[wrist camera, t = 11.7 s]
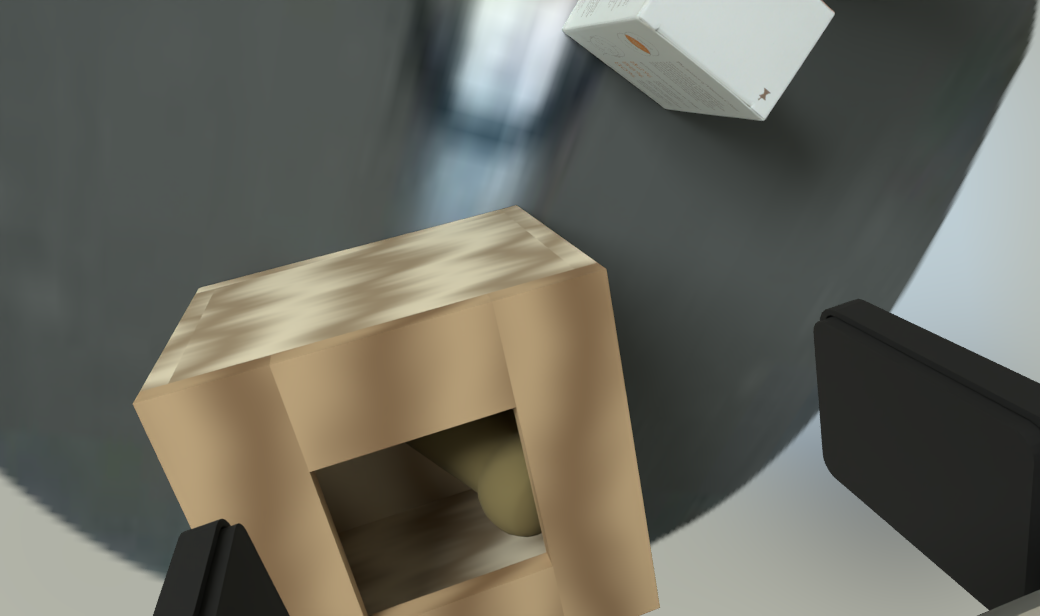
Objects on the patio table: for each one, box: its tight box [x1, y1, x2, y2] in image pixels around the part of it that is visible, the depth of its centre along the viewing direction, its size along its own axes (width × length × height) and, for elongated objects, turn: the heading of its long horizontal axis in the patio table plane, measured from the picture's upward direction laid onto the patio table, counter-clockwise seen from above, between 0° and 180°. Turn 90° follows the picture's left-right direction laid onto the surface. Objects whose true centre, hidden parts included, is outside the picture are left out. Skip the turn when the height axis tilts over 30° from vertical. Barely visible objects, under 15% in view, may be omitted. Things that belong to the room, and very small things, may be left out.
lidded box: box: [133, 205, 660, 616], centre depth 35 cm, size 18×18×14 cm
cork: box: [405, 409, 542, 537], centre depth 36 cm, size 6×6×11 cm
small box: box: [562, 0, 835, 121], centre depth 34 cm, size 8×6×10 cm
